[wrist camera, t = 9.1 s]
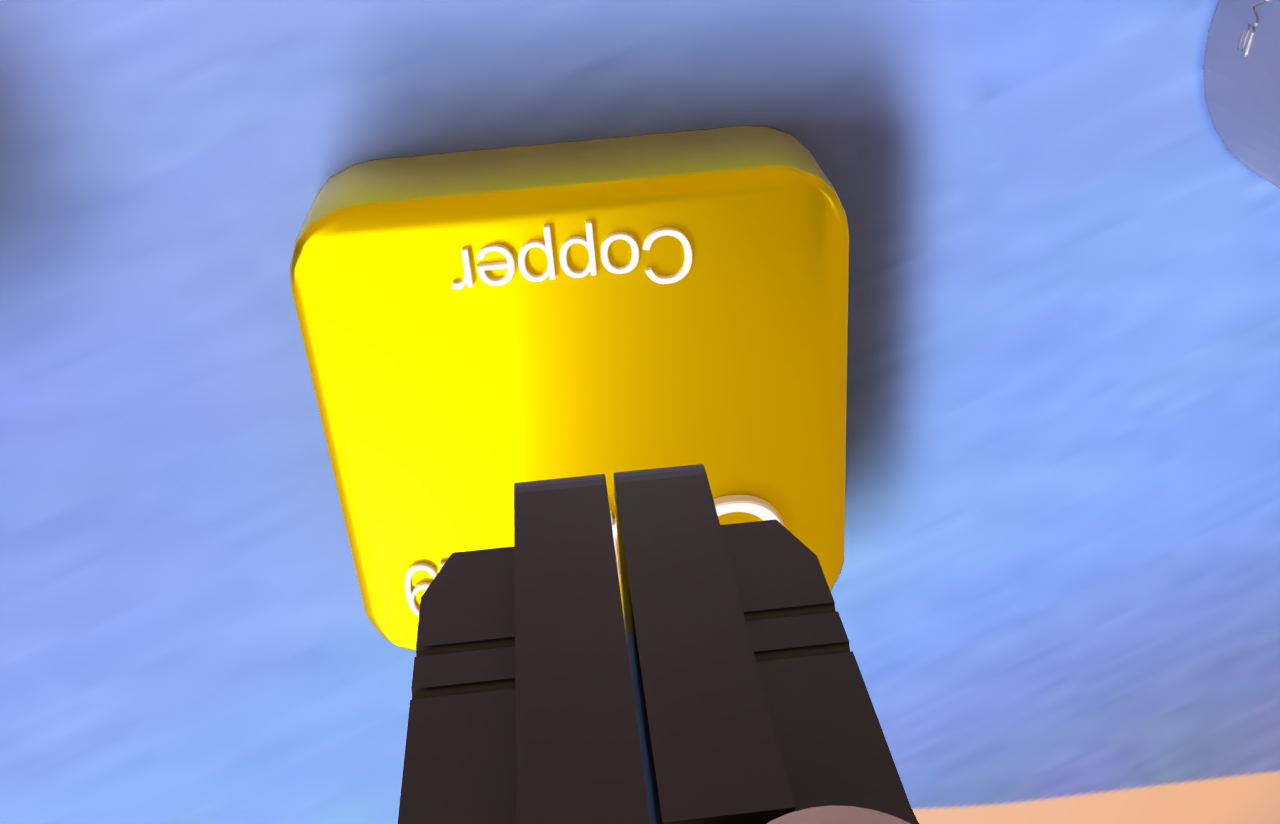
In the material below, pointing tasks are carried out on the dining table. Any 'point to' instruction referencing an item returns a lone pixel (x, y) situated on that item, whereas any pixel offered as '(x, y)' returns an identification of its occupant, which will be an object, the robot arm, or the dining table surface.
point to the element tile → (574, 339)
